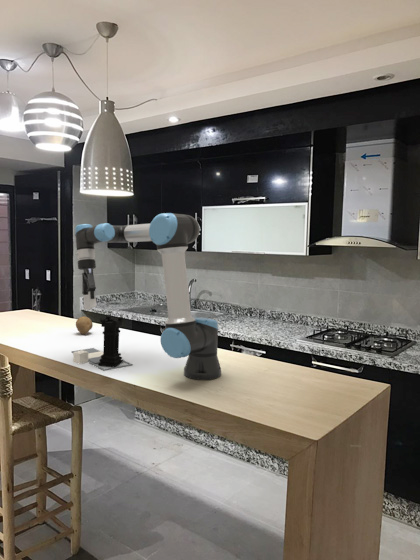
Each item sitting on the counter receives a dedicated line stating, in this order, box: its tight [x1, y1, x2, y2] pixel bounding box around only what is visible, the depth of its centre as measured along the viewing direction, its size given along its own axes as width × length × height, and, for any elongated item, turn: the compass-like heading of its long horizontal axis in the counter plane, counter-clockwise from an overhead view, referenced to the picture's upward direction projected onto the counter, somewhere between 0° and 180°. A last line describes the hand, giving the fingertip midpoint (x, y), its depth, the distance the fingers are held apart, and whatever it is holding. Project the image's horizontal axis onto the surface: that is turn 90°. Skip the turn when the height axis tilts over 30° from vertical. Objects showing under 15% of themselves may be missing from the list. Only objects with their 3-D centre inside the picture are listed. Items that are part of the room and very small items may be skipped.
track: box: [71, 347, 103, 365], centre depth 206 cm, size 24×11×1 cm, turn 40°
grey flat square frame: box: [88, 358, 134, 372], centre depth 194 cm, size 14×14×1 cm
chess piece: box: [97, 315, 124, 368], centre depth 193 cm, size 8×8×20 cm
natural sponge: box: [75, 315, 94, 335], centre depth 250 cm, size 9×9×10 cm
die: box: [72, 349, 89, 365], centre depth 196 cm, size 4×4×5 cm
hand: (90, 308), depth 194 cm, fingers open, 13 cm apart
